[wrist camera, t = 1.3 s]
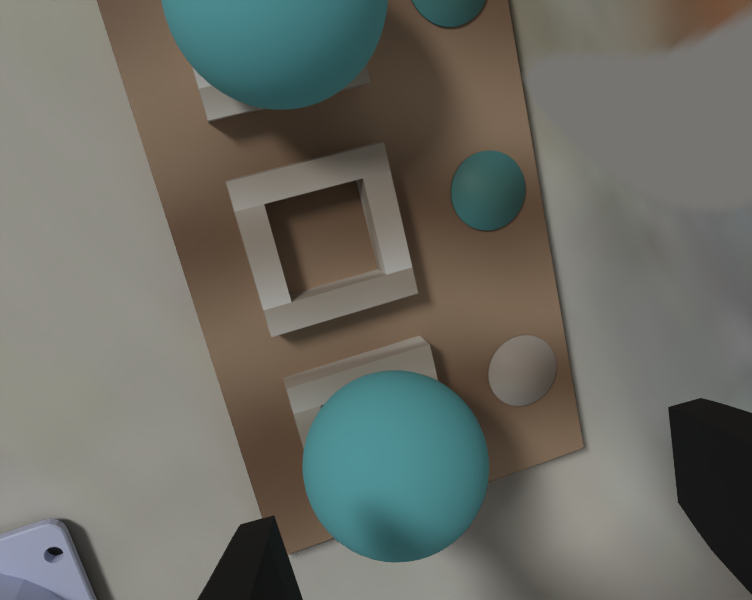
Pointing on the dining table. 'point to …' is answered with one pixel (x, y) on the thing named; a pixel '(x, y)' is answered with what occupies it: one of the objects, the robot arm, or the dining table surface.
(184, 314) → the dining table surface
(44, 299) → the dining table surface
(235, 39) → the teal ball
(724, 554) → the robot arm
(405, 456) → the teal ball
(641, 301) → the dining table surface
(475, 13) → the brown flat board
